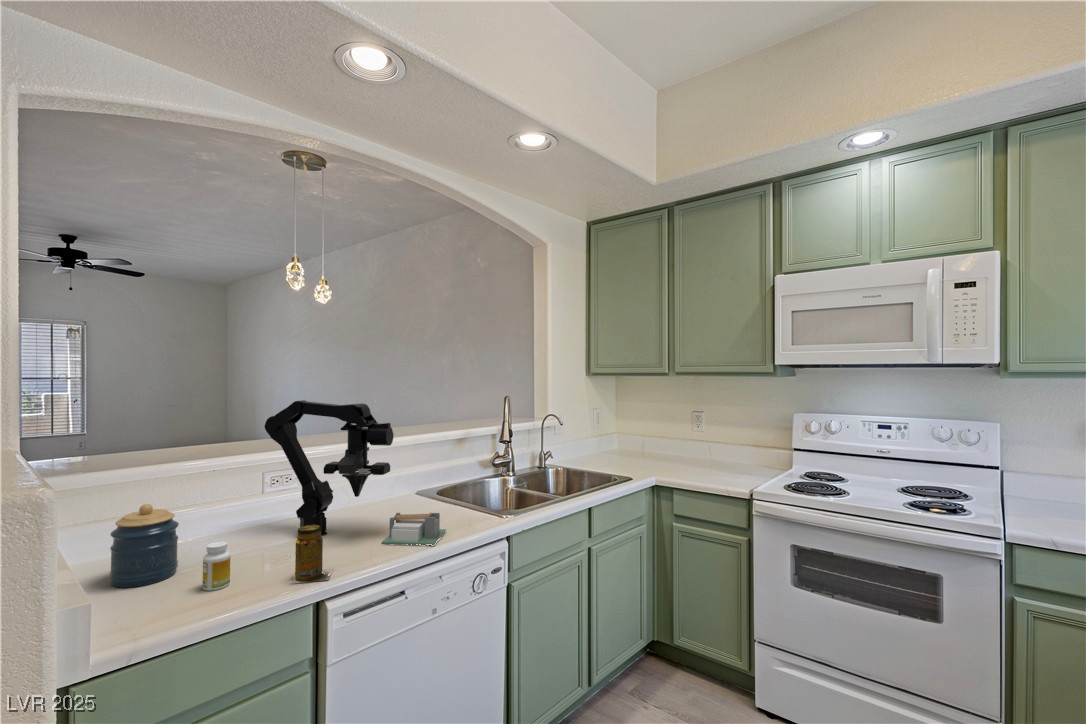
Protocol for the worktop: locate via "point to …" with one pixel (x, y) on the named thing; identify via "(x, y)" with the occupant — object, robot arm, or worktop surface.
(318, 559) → the condiment
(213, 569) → the supplement bottle
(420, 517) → the brown thin bar
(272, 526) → the worktop surface
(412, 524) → the circuit board module
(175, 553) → the canister
